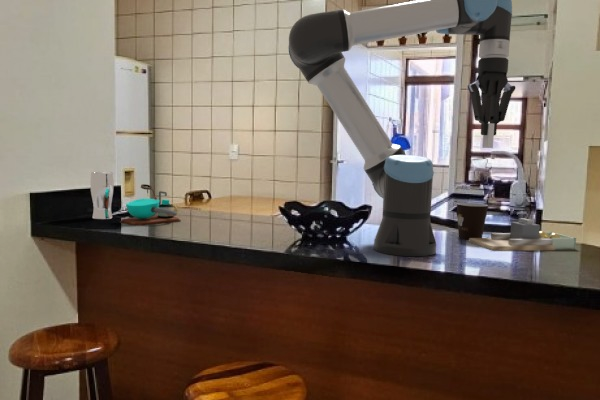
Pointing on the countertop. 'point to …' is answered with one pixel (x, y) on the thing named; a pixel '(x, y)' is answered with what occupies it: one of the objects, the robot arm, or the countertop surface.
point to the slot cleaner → (524, 229)
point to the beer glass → (102, 194)
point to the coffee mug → (471, 220)
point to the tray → (563, 241)
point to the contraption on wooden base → (151, 210)
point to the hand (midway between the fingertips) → (487, 147)
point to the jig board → (512, 243)
